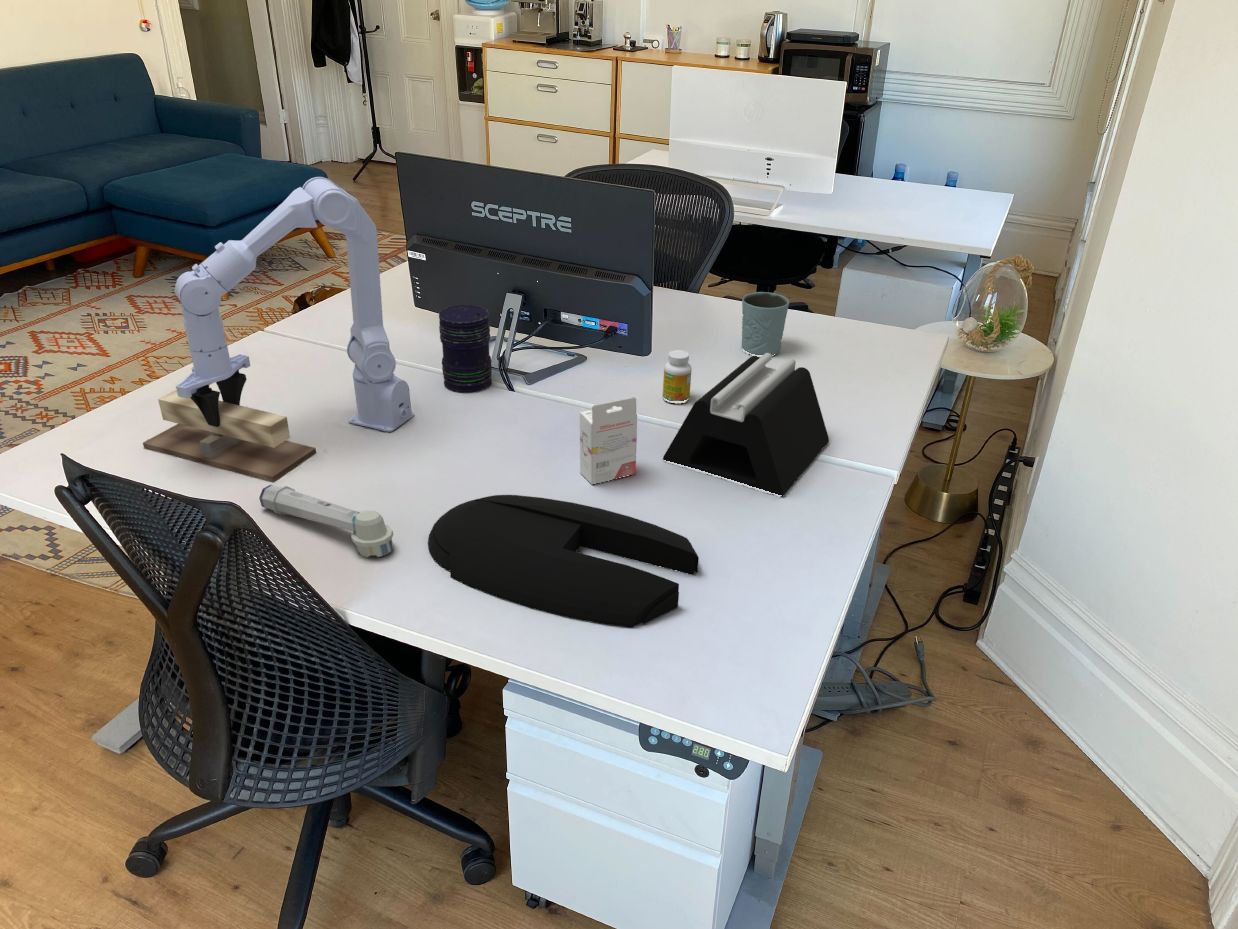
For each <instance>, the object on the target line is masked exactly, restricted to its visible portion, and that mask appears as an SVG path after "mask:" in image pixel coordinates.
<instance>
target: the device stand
mask: <svg viewBox="0 0 1238 929" xmlns="http://www.w3.org/2000/svg"><path fill="white" fill-rule="evenodd" d="M772 359H773V357H772V355H771V354H770V353H765V354H764V355H763V356H762V357H757V356H749V358H747V359H746V360H745V361H744V362H743V363H741V364H740V365H739V366H738V367H736V368H735V369H734V370H733V371H732V372H731V373H729V374H728V375H726V376H725V377H724V378H723V379H722V380H721V381H720V382H718V383H716V385H715V386H714V387H712V388H711V389H710V390H708V391H707V392H706V393H705V394H704V395H702V396H701V397H700V398H699V399H698V400H696V401H695V402H694V404H692V407H691V408H690V411H689V412H688V414H687V416H685V418H684V421H683V422H682V424H681V425H680V427H679V429H678V430H677V433H676V434H675V436H674V438H673V440H672V441H671V442H670V444H669V446H668V448H667V450H666V451H665V453H664V455H663V456H662V461H663V460H666V461H670V462H674V463H677V464H681V465H684V466H688V467H691V468H695V469H699V470H701V471H705V472H708V473H711V474H714V475H718V476H721V477H724V478H727V479H731V480H734V481H737V482H740V483H744V484H747V485H749V486H752V487H756V488H759V489H763V490H765V491H769V492H771V493H775V494H778V495H782V496H783V495H784V496H785V495H786V493H787V492H788V491H789V490H790V488H791V487H793V485H794V484H795V483H796V481H797V480H798V479H799V478H800V477H799V476H802V474H803V473H804V472H805V470H806V469H807V468H808V467H809V466H810V465H811V464H812V462H813V461H814V460H815V459H816V458H817V457H818V455H819V454H820V453H821V452H822V450H823V449H824V448H825V447H826V446H825V445H827V444H829V442H830V438H829V434H828V431H827V427H826V424H825V421H824V418H823V414H822V410H821V406H820V404H819V399H818V396H817V393H816V390H815V386H814V382H813V379H812V376H811V375H812V374H811V373H810V371H809V369H807V368H806V367H803V366H801V367H797V368H796V364H797V363H796V362H797V361H796V359H794V358H789V359H787V360H785V362H784V363H783V364H781V365H780V366H779V367H778V368H777V369H776V368H772V367H768V366H766V365H767V364H768V363H769V362H771V360H772ZM824 446H825V447H824ZM823 447H824V448H823ZM822 448H823V449H822ZM821 449H822V450H821ZM820 451H821V452H820ZM819 452H820V453H819ZM818 453H819V454H818ZM817 454H818V455H817ZM784 496H783V497H784Z"/></svg>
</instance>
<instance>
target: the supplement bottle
mask: <svg viewBox="0 0 1238 929" xmlns="http://www.w3.org/2000/svg"><path fill="white" fill-rule="evenodd" d="M689 357H690V354H689V353H688V352H687V351H685V350H681V349H680V350H678V349H676V350H671V351H670V352H668V356H667V360H668V361H667V362H666V363H665V364H664V368H663V383H662V387H663V388H662V398H663V397H664V398H665V399H667V400H669V401H684V400H687V399H688V398H689V399H690V395H691V384H692V382H691V380H692V370H693V368H692V365H691V364H690V363H689V359H690V358H689Z"/></svg>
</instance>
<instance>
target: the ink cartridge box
mask: <svg viewBox="0 0 1238 929" xmlns="http://www.w3.org/2000/svg"><path fill="white" fill-rule="evenodd" d="M637 436H638V414H637V398H636V397H634V396H633V397H629V398H624V399H619V400H613V401H608V402H604V403H598V404H594V405H593V406H592V407H591V409H590V410H589V409H588V410H585V411H580V412H579V473H580V474H582V475H583V476H584V477H585V478H586V479H587V480H588V481H589V482H590V483H591V484H595V483H600V484H602V483H601V482H604V483H606V482H605V481H608V480H611V479H616V478H619V477H623V476H627V475H632V474H635V475H636V474H637V468H636V467H637V442H638V441H637V440H638V439H637V438H638V437H637ZM582 475H581V476H582ZM583 476H582V477H583ZM632 476H633V475H632ZM584 477H583V478H584ZM585 478H584V479H585ZM586 479H585V480H586ZM616 480H617V479H616ZM588 481H587V482H588ZM589 482H588V483H589ZM608 482H609V481H608ZM590 483H589V484H590ZM591 484H590V485H591Z"/></svg>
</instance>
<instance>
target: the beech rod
mask: <svg viewBox="0 0 1238 929" xmlns="http://www.w3.org/2000/svg"><path fill="white" fill-rule="evenodd" d="M157 400H158V405H159V409H160V413H161V417H162V420H163V421H165V422H166V421H167V422H170V423H175V424H182V425H186V426H190V427H194V428H198V429H202V430H205V431H209V432H213V433H217V434H221V435H225V436H229V437H233V438H237V439H241V440H245V441H249V442H253V443H257V444H261V445H265V446H269V447H273V448H275V447H276V446H278V445H279V444H281V443H283V442H284V441H288V440H289V439H290V438H291V434H290V429H289V423H288V416H287V415H282V414H277V413H273V412H270V411H269V412H268V411H265V410H260V409H258V408H257V409H256V408H252V407H249V406H248V407H247V406H244V405H241V404H240V405H236V404H232V403H228V402H223V400H219V402H218V408H219V415H220V426H218V427H215V426H210V425H208V423H207V421H206V419H205V417H204V416H203V414H202V412H201V411H200V409H199V408H198V406H197V405H196V404H195V403H194V401H193V400H192V399H191V398H188V399H187V398H182V397H178V393H177V389H175V390H173V391H171V392H170V393H167V394H166V395H163V396H162V397H159V398H158V399H157Z"/></svg>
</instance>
